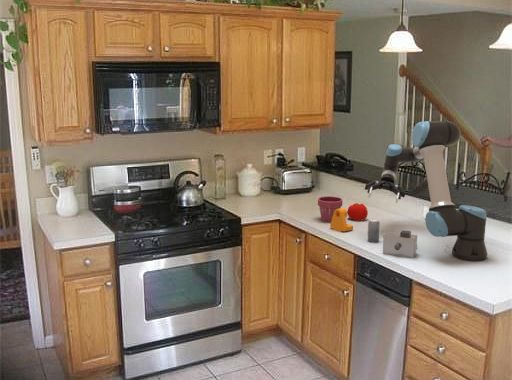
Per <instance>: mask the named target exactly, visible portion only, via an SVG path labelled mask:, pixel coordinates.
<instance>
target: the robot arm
mask: <svg viewBox="0 0 512 380" xmlns="http://www.w3.org/2000/svg"><path fill="white" fill-rule="evenodd" d="M411 133H412V134H411V142H412V145H413V147H411V148H409V147H408V148H403V147H402V146H401V145H400V144H396V143H395V144H394V143H392V144H389V145H388V146H387V149H386V152H385V159H384V164H383V168H382V173H381V176H380V179H379V180H378V181H377V179H375V178H374V179H373V180H372V181H369V183H367V184H365V187H364V191H365V190H367V191H366V192H367V194H368V197H367V198H371V195H372V191H375V190H381V189H383V190H388V191H390V192H392V193H393V194H395V196H396V200H395V204H398V201H399V200H401V199H402V198H405V196H406V192H405V190H404V189H403V188H402V186H401V184H399V183H398V184H395V183H396V179H397V178H396V177H397V174H398V171H399V170H398V169H399V165H400V163H420V162H424V169H425V175H426V180H427V181H426V182H427V185H428V186H427V187H428V192H429V198H430V203H431V204H430V206H429V207H428V211H427V213H426V214H425V217H424V221H425V222H424V223H425V226H426V229H427V231H428V232H429V234H431V235H432V236H433V237H436V238H440V237H441V238H446V237H456V240H455V242H454V245H453V247H452V249H451V255H452V256H453V257H455V258H457V259H460V260H462V261H464V260H465V261H470V262H481V261H485V260H487V259H488V251H487V247H486V244H485V243H486V242H485V235H486V223H487V211H486V210H485V209H483V208H482V207H477V206H474V205H473V206H472V205H467V204H465V205H464V204H463V205H462V204H461V205H459V207H458V209H457V208H456V204H455V203H454V202H452V199H451V193H450V188H449V183H448V182H449V181H448V177H447V170H446V164H445V158H444V154H443V151H444V150H445V148H450V147H452V146H454V145H456V144H457V143H458V142H459V141H460V139H461V136H462V132H461V129H460V127H459V125H458V124H457V123H456V122H453V121H450V120H437V121H436V120H432V121H431V120H426V121H419V122H417V123H416V124H415V125H414V127H413V129H412V132H411Z"/></svg>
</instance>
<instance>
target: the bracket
mask: <svg viewBox="0 0 512 380" xmlns="http://www.w3.org/2000/svg"><path fill="white" fill-rule="evenodd" d="M347 211H348V209H346V208H345V207H341V208H340V209H336V210H335V211H334V214H333V217H332V220H331V222H329V223H330V228H332V229H333V230H335V231H337V232H348V231H352V230H354V225H353V224H349V223H347V221H346V220H347V219H346V217H348V213H347Z"/></svg>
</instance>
